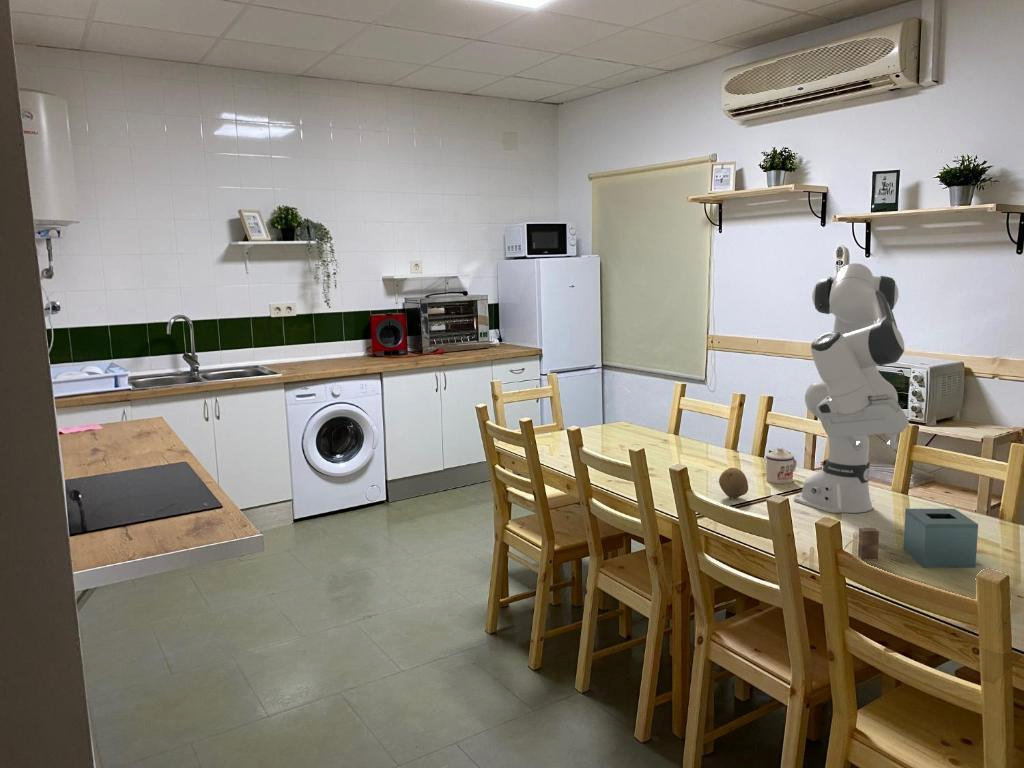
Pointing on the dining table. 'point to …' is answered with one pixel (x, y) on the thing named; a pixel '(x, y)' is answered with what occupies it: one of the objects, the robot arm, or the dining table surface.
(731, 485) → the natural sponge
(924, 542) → the blue-gray slotted box
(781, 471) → the teacup with lid
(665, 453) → the dining table surface
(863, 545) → the walnut block
